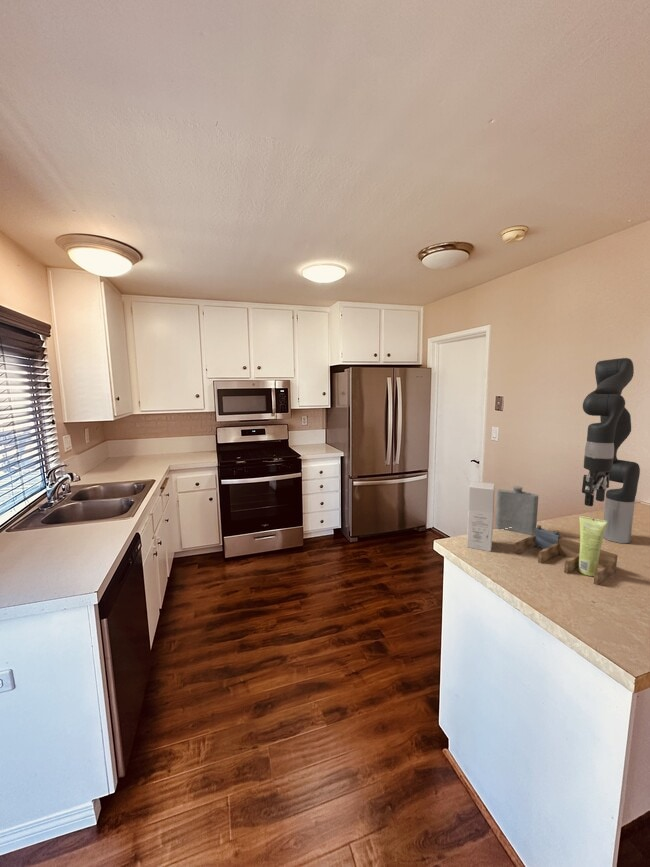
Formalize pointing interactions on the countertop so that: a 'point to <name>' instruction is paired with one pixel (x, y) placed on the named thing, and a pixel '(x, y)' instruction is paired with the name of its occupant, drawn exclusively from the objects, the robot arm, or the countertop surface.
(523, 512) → the hip flask
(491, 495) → the tall white carton
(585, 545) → the tube
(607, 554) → the wooden slatted rack
